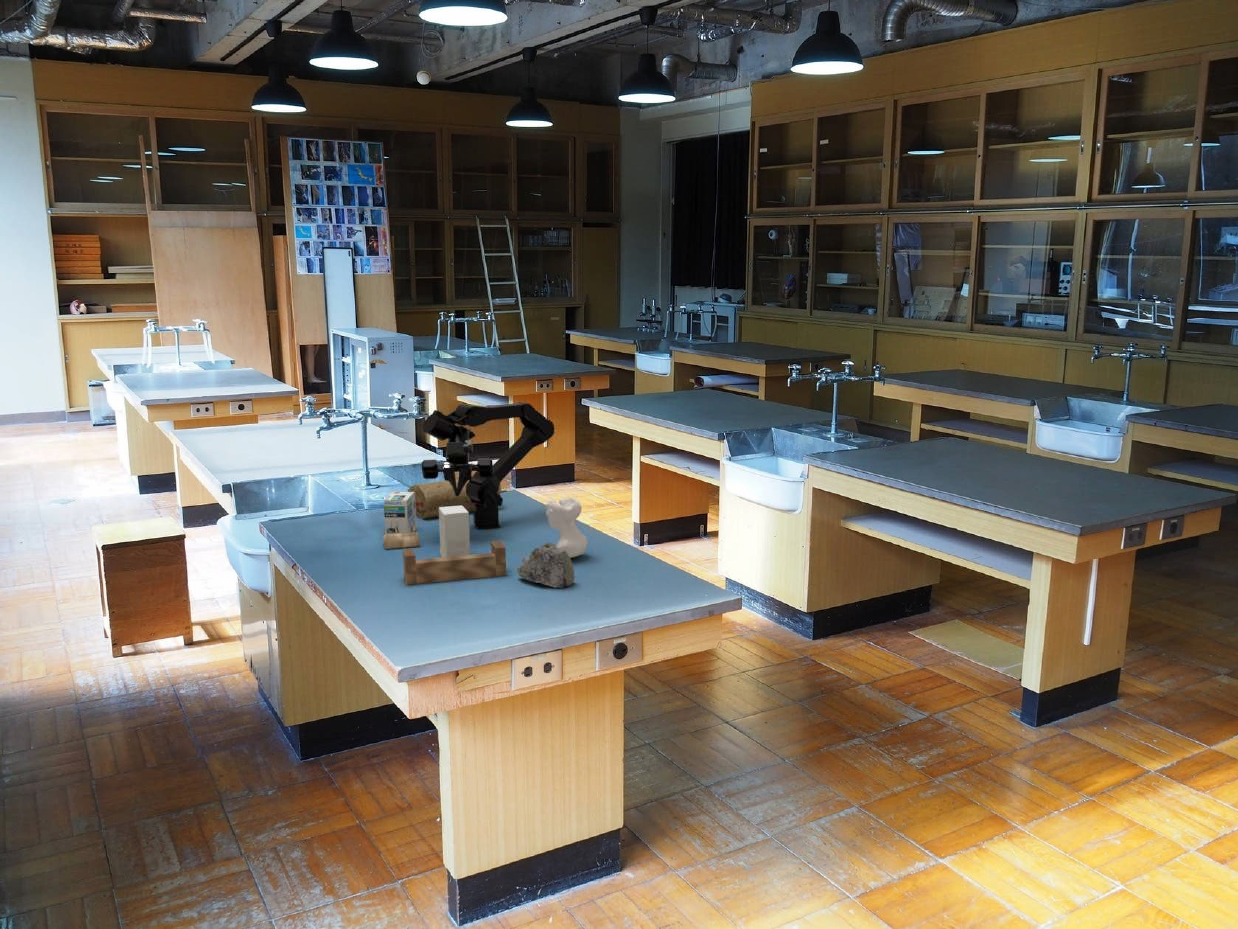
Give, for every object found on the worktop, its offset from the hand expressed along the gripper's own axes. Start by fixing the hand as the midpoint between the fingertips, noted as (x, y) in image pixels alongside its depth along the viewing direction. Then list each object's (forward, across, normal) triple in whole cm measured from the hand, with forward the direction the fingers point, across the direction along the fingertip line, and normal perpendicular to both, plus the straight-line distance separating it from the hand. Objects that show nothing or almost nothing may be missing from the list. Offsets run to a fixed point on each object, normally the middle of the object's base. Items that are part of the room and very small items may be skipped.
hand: (457, 495), depth 273 cm
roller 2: (+11, -15, +8) cm, 20 cm away
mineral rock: (+34, +23, -14) cm, 43 cm away
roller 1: (+8, -16, +11) cm, 21 cm away
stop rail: (+29, +1, -10) cm, 30 cm away
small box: (+19, 0, 0) cm, 19 cm away
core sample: (-16, -4, +35) cm, 39 cm away
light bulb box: (+1, -17, +19) cm, 25 cm away
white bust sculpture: (+20, +28, 0) cm, 34 cm away
